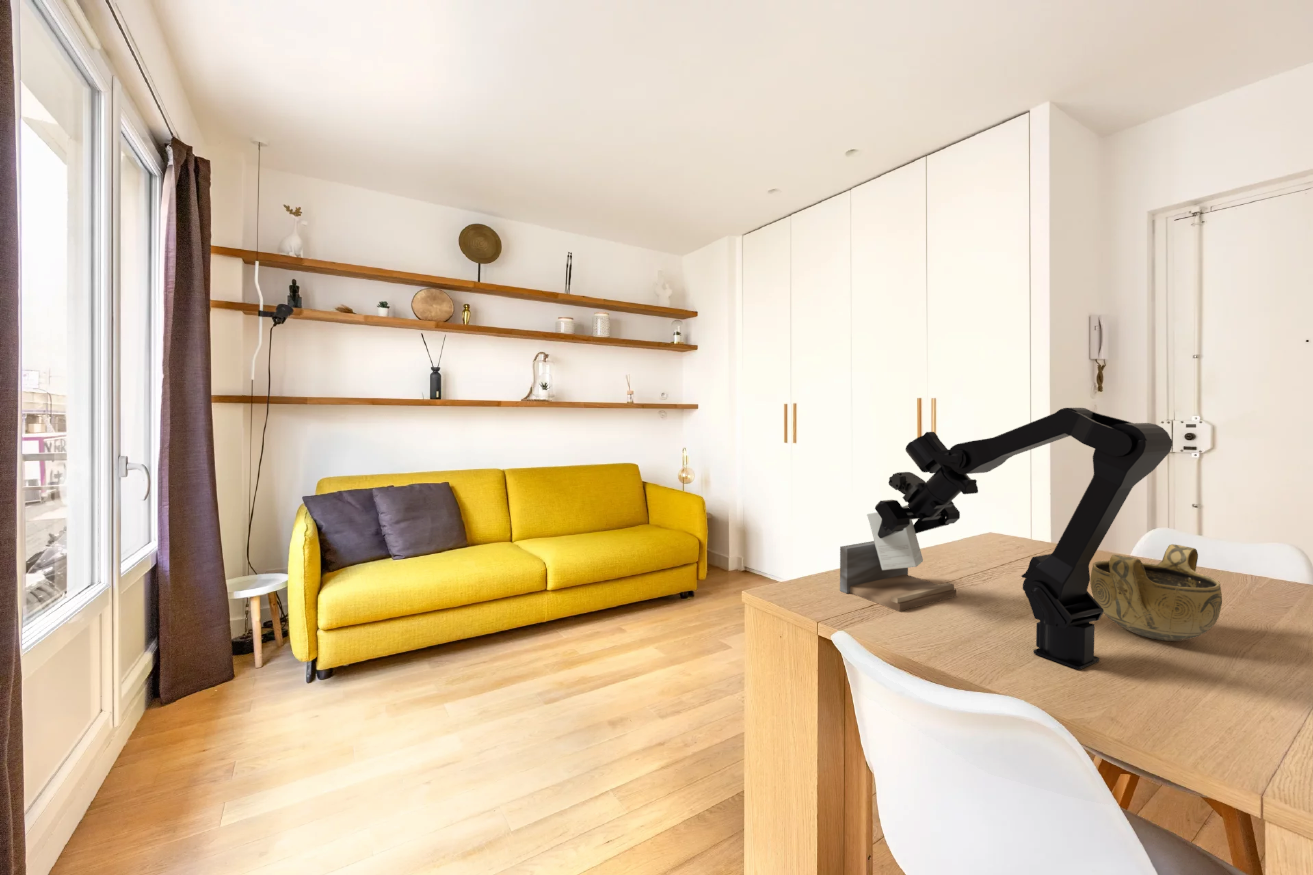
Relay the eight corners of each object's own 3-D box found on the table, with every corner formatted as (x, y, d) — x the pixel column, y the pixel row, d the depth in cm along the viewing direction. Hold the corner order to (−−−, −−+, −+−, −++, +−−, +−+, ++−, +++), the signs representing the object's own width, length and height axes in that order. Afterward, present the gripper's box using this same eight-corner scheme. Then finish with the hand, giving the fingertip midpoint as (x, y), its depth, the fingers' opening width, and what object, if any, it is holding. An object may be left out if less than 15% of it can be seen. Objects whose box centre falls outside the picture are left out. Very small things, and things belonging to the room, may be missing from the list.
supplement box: (924, 560, 115) (909, 504, 117) (916, 567, 109) (900, 507, 111) (889, 564, 119) (875, 509, 121) (880, 570, 113) (865, 513, 115)
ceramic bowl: (1181, 666, 81) (1184, 570, 80) (1059, 626, 96) (1061, 545, 96) (1247, 640, 90) (1251, 553, 89) (1126, 607, 105) (1128, 533, 105)
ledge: (959, 595, 113) (959, 549, 112) (896, 612, 104) (896, 562, 103) (900, 577, 126) (900, 536, 125) (839, 590, 117) (840, 546, 116)
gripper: (947, 458, 113) (905, 502, 124) (882, 462, 106) (843, 508, 117) (982, 499, 106) (934, 542, 117) (914, 506, 99) (870, 551, 110)
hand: (895, 534), depth 115 cm, fingers closed on supplement box, 9 cm apart
